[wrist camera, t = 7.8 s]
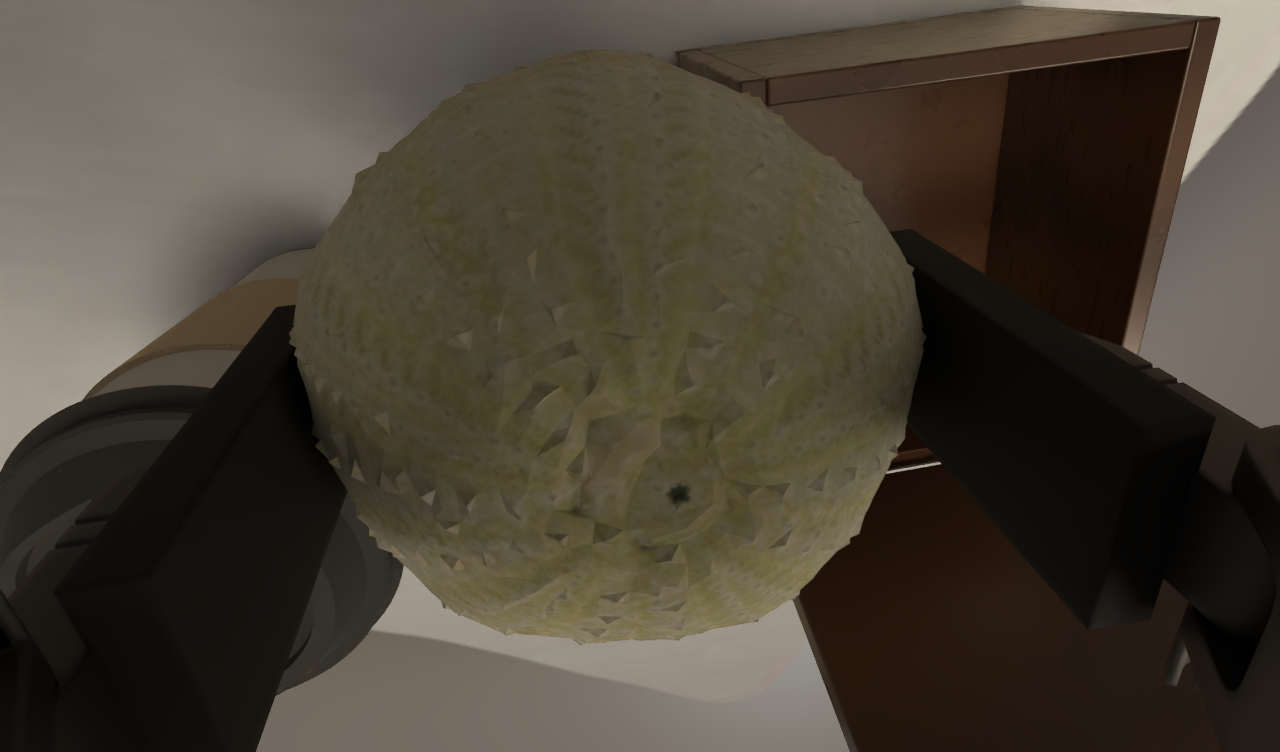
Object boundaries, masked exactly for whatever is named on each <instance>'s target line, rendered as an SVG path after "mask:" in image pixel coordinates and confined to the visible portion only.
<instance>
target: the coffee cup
mask: <svg viewBox="0 0 1280 752" xmlns="http://www.w3.org/2000/svg"><path fill="white" fill-rule="evenodd" d="M313 250H314V249H303V250H296V251H291V252H287V253H284V254H281V255H278V256H276V257H274V258H271V259H269V260H268V261H266V262H264V263H263V264H261V265H260V266H258V267H257V268H256V269H255V270H253V271H252V272H251V273H249V274H248V275H247V276H246V277H244V278H243V279H242V280H241V281H239V282H238V283H237V284H235V285H234V286H233V287H232V288H230V289H228V290H226V291H224V292H222V293H220V294H218V295H217V296H215V297H213V298H212V299H211V300H209V301H208V302H206V303H205V304H204V305H202V306H201V307H200V308H198V309H197V310H196V311H194V312H193V313H191V314H190V315H189V316H187V317H186V318H185V319H183V320H182V321H181V322H179V323H178V324H176V325H175V326H174V327H172V328H171V329H170V330H168V331H167V332H166V333H164V334H163V335H161V336H160V337H159V338H157V339H156V340H155V341H153V342H152V343H151V344H149V345H148V346H146V347H145V348H144V349H142V350H141V351H140V352H138V353H137V354H136V355H134V356H133V357H131V358H130V359H129V360H127V361H126V362H125V363H123V364H122V365H121V366H119V367H118V368H116V369H115V370H114V371H112V372H111V373H110V374H108V375H107V376H106V377H104V378H103V379H102V380H101V381H100V382H98V383H97V384H96V385H95V386H94V387H93V388H92V389H91V390H90V391H89V393H88V394H87V395H86V396H85V397H84V399H83V400H82V401H81V402H78V403H76V404H74V405H71V406H69V407H67V408H65V409H63V410H61V411H59V412H57V413H56V414H54V415H52V416H51V417H49V418H48V419H46V420H45V421H43V422H42V423H41V424H39V425H38V426H37V427H35V428H34V429H33V430H32V431H31V432H30V433H29V434H27V435H26V436H25V437H24V439H23V440H22V441H21V442H20V443H19V444H18V445H17V446H16V448H15V449H14V450H13V451H12V453H11V454H10V456H9V457H8V459H7V461H6V462H5V464H4V466H3V468H2V470H1V472H0V589H1V590H2V592H3V593H4V595H5V596H6V598H7V599H8V598H9V597H10V596H11V595H12V594H13V592H14V591H15V590H16V589H17V588H18V587H19V585H20V584H21V583H22V582H23V581H24V579H25V578H26V577H27V576H28V575H29V574H30V572H31V571H32V570H33V569H34V568H35V566H36V565H37V564H38V563H39V562H40V561H41V559H42V558H43V557H44V556H45V555H46V554H47V552H48V551H49V550H54V549H55V543H56V542H57V541H58V539H59V538H60V537H61V536H62V535H63V534H64V532H65V531H66V530H67V529H68V528H69V526H75V519H76V518H77V517H78V516H79V515H80V513H81V512H82V511H83V510H84V509H85V508H86V506H87V505H88V504H89V503H90V502H91V501H92V499H93V498H94V497H95V496H96V495H97V493H98V492H100V491H101V490H103V489H104V488H105V487H107V486H108V485H110V484H111V483H113V482H114V481H115V480H117V479H118V478H120V477H121V476H122V475H124V474H125V473H127V472H128V471H130V470H131V469H132V468H134V467H136V466H143V465H151V464H153V463H154V462H155V461H156V459H157V458H158V457H159V456H160V454H161V453H162V452H163V451H164V449H165V448H166V447H167V445H168V444H169V443H170V442H171V440H172V439H173V438H174V436H175V435H176V434H177V433H178V431H179V430H180V429H181V428H182V426H183V425H184V424H185V422H186V421H187V420H188V419H189V417H190V416H191V415H192V414H193V412H194V411H195V410H196V408H197V407H198V406H199V405H200V403H201V402H202V401H203V400H204V398H205V397H206V396H207V394H208V393H209V392H210V391H211V389H212V388H213V387H214V386H215V384H216V383H217V382H218V380H219V379H220V378H221V377H222V375H223V374H224V373H225V371H226V370H227V369H228V368H229V366H230V365H231V364H232V363H233V361H234V360H235V359H236V357H237V356H238V355H239V354H240V352H241V351H242V350H243V349H244V347H245V346H246V345H247V343H248V342H249V341H250V340H251V338H252V337H253V336H254V335H255V333H256V332H257V331H258V329H259V328H260V327H261V326H262V324H263V323H264V322H265V321H266V319H267V318H268V317H269V315H270V314H271V313H272V312H273V310H274V309H275V308H276V307H280V306H288V305H296V300H297V293H298V287H299V281H300V275H301V272H302V268H303V266H304V264H305V263H306V261H307V260H308V258H309V257H310V255H311V254H312V252H313ZM403 566H404V565H403V564H402V563H401V562H400V561H399V560H398V559H397V558H395V557H393V554H392V553H391V552H389V551H386V550H383V549H380V548H378V546H377V542H376V538H375V537H372V536H370V535H369V527H368V526H367V525H366V524H365V523H363V522H362V521H361V520H360V519H359V518H357V507H356V505H355V503H354V502H353V500H352V499H351V497H350V495H349V493H348V491H347V494H346V497H345V500H344V503H343V506H342V508H341V511H340V514H339V517H338V520H337V523H336V525H335V528H334V531H333V534H332V537H331V540H330V542H329V545H328V548H327V551H326V554H325V557H324V559H323V562H322V565H321V568H320V571H319V574H318V576H317V579H316V582H315V585H314V588H313V591H312V593H311V596H310V599H309V602H308V605H307V608H306V610H305V613H304V616H303V619H302V622H301V625H300V627H299V630H298V633H297V636H296V639H295V642H294V644H293V647H292V650H291V653H290V656H289V659H288V661H287V664H286V667H285V670H284V673H283V676H282V678H281V681H280V684H279V687H278V690H277V693H276V695H278V694H280V693H282V692H284V691H285V690H287V689H290V688H292V687H295V686H297V685H299V684H302V683H304V682H306V681H308V680H310V679H312V678H314V677H316V676H318V675H320V674H321V673H323V672H325V671H326V670H328V669H330V668H331V667H332V666H334V665H335V664H337V663H338V662H340V661H341V660H342V659H343V658H345V657H346V656H347V655H348V654H349V653H350V652H351V651H353V650H354V649H355V648H356V646H357V645H358V644H359V643H360V642H361V641H362V640H363V639H364V638H365V636H366V635H367V634H368V632H369V631H370V629H371V628H372V626H373V625H374V624H375V623H376V622H377V621H378V620H379V618H380V617H381V616H382V615H383V613H384V612H385V611H386V609H387V608H388V606H389V605H390V603H391V601H392V599H393V597H394V595H395V593H396V591H397V588H398V586H399V583H400V579H401V576H402V571H403ZM276 695H275V696H276Z"/></svg>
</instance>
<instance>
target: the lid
mask: <svg viewBox="0 0 1280 752" xmlns="http://www.w3.org/2000/svg"><path fill="white" fill-rule="evenodd" d="M793 602H794V604H795V607H796V610H797V612H798V615H799V617H800V620H801V623H802V625H803V628H804V631H805V633H806V636H807V639H808V641H809V644H810V647H811V649H812V652H813V655H814V657H815V660H816V663H817V665H818V668H819V670H820V673H821V676H822V679H823V681H824V684H825V686H826V689H827V691H828V694H829V697H830V700H831V702H832V705H833V708H834V710H835V713H836V715H837V718H838V721H839V723H840V726H841V729H842V732H843V734H844V737H845V739H846V742H847V745H848V747H849V750H850V752H1221V749H1220V747H1219V744H1218V741H1217V738H1216V735H1215V732H1214V729H1213V726H1212V723H1211V720H1210V717H1209V714H1208V711H1207V708H1206V705H1205V703H1204V700H1203V697H1202V694H1201V691H1198V690H1193V684H1194V681H1195V679H1196V676H1195V673H1194V670H1193V667H1192V664H1191V662H1190V663H1187V664H1186V665H1185V666H1183V669H1182V672H1181V675H1180V677H1179V680H1178V683H1177V685H1176V686H1173V685H1168V684H1165V666H1166V664H1167V661H1168V658H1169V655H1170V652H1171V650H1172V647H1173V644H1174V641H1175V638H1176V635H1177V633H1178V630H1179V627H1180V624H1181V621H1182V619H1183V616H1184V613H1185V610H1186V607H1187V604H1188V602H1189V601H1188V600H1186V599H1185V598H1184V597H1183V596H1182V595H1181V594H1180V593H1179V592H1178V591H1177V590H1176V589H1174V588H1173V587H1172V586H1171V585H1170V584H1169V583H1168V582H1167V581H1166V580H1165V579H1163V582H1162V585H1161V588H1160V591H1159V594H1158V597H1157V600H1156V603H1155V606H1154V609H1153V612H1152V615H1151V618H1150V620H1146V621H1141V622H1135V623H1129V624H1123V625H1117V626H1112V627H1106V628H1100V629H1094V630H1087V629H1086V627H1085V626H1084V625H1083V624H1082V623H1081V622H1080V621H1079V619H1078V618H1077V617H1076V616H1075V615H1074V614H1073V613H1072V612H1071V610H1070V609H1069V608H1068V607H1067V606H1066V605H1065V604H1064V602H1063V601H1062V600H1061V599H1060V598H1059V597H1058V596H1057V594H1056V593H1055V592H1054V591H1053V590H1052V589H1051V588H1050V587H1049V585H1048V584H1047V583H1046V582H1045V581H1044V580H1043V579H1042V577H1041V576H1040V575H1039V574H1038V573H1037V572H1036V571H1035V569H1034V568H1033V567H1032V566H1031V565H1030V564H1029V563H1028V562H1027V560H1026V559H1025V558H1024V557H1023V556H1022V555H1021V554H1020V552H1019V551H1018V550H1017V549H1016V548H1015V547H1014V546H1013V544H1012V543H1011V542H1010V541H1009V540H1008V539H1007V538H1006V537H1005V535H1004V534H1003V533H1002V532H1001V531H1000V530H999V529H998V527H997V526H996V525H995V524H994V523H993V522H992V521H991V519H990V518H989V517H988V516H987V515H986V514H985V513H984V511H983V510H982V509H981V508H980V507H979V506H978V505H977V504H976V502H975V501H974V500H973V499H972V498H971V497H970V496H969V494H968V493H967V492H966V491H965V490H964V489H963V488H962V486H961V485H960V484H959V483H958V482H957V481H956V480H955V479H954V477H953V476H952V475H951V474H950V473H949V472H948V471H947V469H946V468H945V467H944V466H943V465H942V464H940V465H935V466H929V467H923V468H918V469H912V470H906V471H901V472H895V473H889V474H885V476H884V478H883V480H882V482H881V484H880V486H879V488H878V489H877V491H876V493H875V495H874V497H873V499H872V502H871V504H870V506H869V508H868V510H867V512H866V514H865V516H864V519H863V522H862V526H861V529H860V533H859V534H858V535H855V536H853V537H851V538H850V544H848V545H846V546H845V547H843V548H841V549H840V550H838V551H837V552H836V553H835V554H834V555H833V556H832V557H831V558H830V559H829V560H828V561H827V562H826V563H825V564H824V565H823V566H822V567H821V568H820V570H819V571H818V572H817V574H816V575H815V577H814V578H813V579H812V580H811V581H810V582H808V583H807V584H806V585H805V586H804V587H803V588H802V589H801V590H800V594H799V595H798V596H796V598H795V599H794V600H793Z"/></svg>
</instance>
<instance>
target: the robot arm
mask: <svg viewBox="0 0 1280 752" xmlns="http://www.w3.org/2000/svg"><path fill="white" fill-rule="evenodd" d="M889 233H890V234H891V236H892V237H893V239H894V240H895V242H896V243H897V245H898V246H899V247H900V250H901V252H902V254H903V256H904V257H905V258H906V262H907V264H909V265H910V266H912V267H913V268H914V270H913V272H912V275H913V278H914V280H915V290H916V296H917V300H918V305H919V309H920V314H921V319H922V324H923V325H924V326H923V328H922V331H923V333H924V334H925V335H926V337H927V338H926V340H925V341H924V343H923V348H924V351H923V355H922V359H921V363H920V367H919V371H918V375H917V379H916V382H915V386H914V389H913V395H912V400H911V405H910V409H909V412H908V416H907V425H908V426H909V427H910V428H911V430H912V431H913V432H914V433H915V434H916V435H917V436H918V438H919V439H920V440H921V441H922V442H923V443H924V444H925V446H926V447H927V448H928V449H929V450H930V451H931V452H932V454H933V455H934V456H935V457H936V458H937V459H938V460H939V461H940V463H941V464H942V465H943V466H944V467H945V468H946V469H947V471H948V472H949V473H950V474H951V475H952V476H953V477H954V479H955V480H956V481H957V482H958V483H959V484H960V485H961V486H962V488H963V489H964V490H965V491H966V492H967V493H968V494H969V496H970V497H971V498H972V499H973V500H974V501H975V502H976V504H977V505H978V506H979V507H980V508H981V509H982V510H983V511H984V513H985V514H986V515H987V516H988V517H989V518H990V519H991V521H992V522H993V523H994V524H995V525H996V526H997V527H998V529H999V530H1000V531H1001V532H1002V533H1003V534H1004V535H1005V537H1006V538H1007V539H1008V540H1009V541H1010V542H1011V543H1012V544H1013V546H1014V547H1015V548H1016V549H1017V550H1018V551H1019V552H1020V554H1021V555H1022V556H1023V557H1024V558H1025V559H1026V560H1027V562H1028V563H1029V564H1030V565H1031V566H1032V567H1033V568H1034V569H1035V571H1036V572H1037V573H1038V574H1039V575H1040V576H1041V577H1042V579H1043V580H1044V581H1045V582H1046V583H1047V584H1048V585H1049V587H1050V588H1051V589H1052V590H1053V591H1054V592H1055V593H1056V594H1057V596H1058V597H1059V598H1060V599H1061V600H1062V601H1063V602H1064V604H1065V605H1066V606H1067V607H1068V608H1069V609H1070V610H1071V612H1072V613H1073V614H1074V615H1075V616H1076V617H1077V618H1078V619H1079V621H1080V622H1081V623H1082V624H1083V625H1084V626H1085V627H1086V629H1087V630H1094V629H1100V628H1106V627H1112V626H1117V625H1123V624H1129V623H1135V622H1141V621H1146V620H1150V618H1151V615H1152V612H1153V609H1154V606H1155V603H1156V600H1157V597H1158V594H1159V591H1160V588H1161V585H1162V582H1163V579H1165V580H1166V581H1167V582H1168V583H1169V584H1170V585H1171V586H1172V587H1173V588H1174V589H1176V590H1177V591H1178V592H1179V593H1180V594H1181V595H1182V596H1183V597H1184V598H1185V599H1186V600H1188V601H1189V602H1188V604H1187V607H1186V610H1185V613H1184V616H1183V619H1182V621H1181V624H1180V627H1179V630H1178V633H1177V635H1176V638H1175V641H1174V644H1173V647H1172V650H1171V652H1170V655H1169V658H1168V661H1167V664H1166V666H1165V684H1168V685H1173V686H1176V685H1177V683H1178V680H1179V677H1180V675H1181V672H1182V669H1183V666H1185V665H1186V664H1187V663H1190V662H1191V664H1192V667H1193V670H1194V673H1195V676H1196V679H1195V681H1194V684H1193V690H1198V691H1201V694H1202V697H1203V700H1204V703H1205V705H1206V708H1207V711H1208V714H1209V717H1210V720H1211V723H1212V726H1213V729H1214V732H1215V735H1216V738H1217V741H1218V744H1219V747H1220V749H1221V752H1280V425H1274V426H1270V427H1265V428H1261V429H1260V428H1259V427H1257V426H1255V425H1254V424H1252V423H1250V422H1249V421H1247V420H1245V419H1244V418H1242V417H1240V416H1239V415H1237V414H1235V413H1233V412H1232V411H1230V410H1229V409H1227V408H1225V407H1224V406H1221V405H1220V404H1219V403H1217V402H1215V401H1213V400H1212V399H1210V398H1208V397H1207V396H1205V395H1203V394H1202V393H1200V392H1198V391H1197V390H1195V389H1193V388H1192V387H1190V386H1188V385H1187V384H1185V383H1177V379H1176V378H1175V377H1173V376H1172V375H1170V374H1168V373H1166V372H1165V371H1163V370H1161V369H1160V368H1153V367H1152V364H1151V363H1150V362H1148V361H1146V360H1145V359H1143V358H1141V357H1139V356H1138V355H1136V354H1135V353H1133V352H1131V351H1130V350H1128V349H1126V348H1124V347H1123V346H1120V345H1117V344H1114V343H1111V342H1108V341H1105V340H1102V339H1099V338H1096V337H1093V336H1091V335H1088V334H1085V333H1082V334H1081V333H1079V332H1078V331H1076V330H1074V329H1073V328H1071V327H1070V326H1068V325H1066V324H1065V323H1063V322H1061V321H1060V320H1058V319H1057V318H1055V317H1053V316H1052V315H1050V314H1048V313H1047V312H1045V311H1044V310H1042V309H1040V308H1039V307H1037V306H1035V305H1034V304H1032V303H1031V302H1029V301H1027V300H1026V299H1024V298H1023V297H1021V296H1019V295H1018V294H1016V293H1014V292H1013V291H1011V290H1010V289H1008V288H1006V287H1005V286H1003V285H1001V284H1000V283H998V282H997V281H995V280H993V279H992V278H990V277H989V276H987V275H985V274H984V273H982V272H980V271H979V270H977V269H976V268H974V267H972V266H971V265H969V264H967V263H966V262H964V261H963V260H961V259H959V258H958V257H956V256H954V255H953V254H951V253H950V252H948V251H946V250H945V249H943V248H942V247H940V246H938V245H937V244H935V243H933V242H932V241H930V240H929V239H927V238H925V237H924V236H922V235H920V234H919V233H917V232H916V231H914V230H912V229H907V230H899V231H891V232H889ZM295 308H296V305H288V306H280V307H276V308H275V309H274V310H273V312H272V313H271V314H270V315H269V317H268V318H267V319H266V321H265V322H264V323H263V324H262V326H261V327H260V328H259V329H258V331H257V332H256V333H255V335H254V336H253V337H252V338H251V340H250V341H249V342H248V343H247V345H246V346H245V347H244V349H243V350H242V351H241V352H240V354H239V355H238V356H237V357H236V359H235V360H234V361H233V363H232V364H231V365H230V366H229V368H228V369H227V370H226V371H225V373H224V374H223V375H222V377H221V378H220V379H219V380H218V382H217V383H216V384H215V386H214V387H213V388H212V389H211V391H210V392H209V393H208V394H207V396H206V397H205V398H204V400H203V401H202V402H201V403H200V405H199V406H198V407H197V408H196V410H195V411H194V412H193V414H192V415H191V416H190V417H189V419H188V420H187V421H186V422H185V424H184V425H183V426H182V428H181V429H180V430H179V431H178V433H177V434H176V435H175V436H174V438H173V439H172V440H171V442H170V443H169V444H168V445H167V447H166V448H165V449H164V451H163V452H162V453H161V454H160V456H159V457H158V458H157V459H156V461H155V462H154V463H153V464H151V465H143V466H136V467H134V468H132V469H131V470H130V471H128V472H127V473H125V474H124V475H122V476H121V477H120V478H118V479H117V480H115V481H114V482H113V483H111V484H110V485H108V486H107V487H105V488H104V489H103V490H101V491H100V492H98V493H97V495H96V496H95V497H94V498H93V499H92V501H91V502H90V503H89V504H88V505H87V506H86V508H85V509H84V510H83V511H82V512H81V513H80V515H79V516H78V517H77V518H76V519H75V526H69V528H68V529H67V530H66V531H65V532H64V534H63V535H62V536H61V537H60V538H59V539H58V541H57V542H56V543H55V549H54V550H49V551H48V552H47V554H46V555H45V556H44V557H43V558H42V559H41V561H40V562H39V563H38V564H37V565H36V566H35V568H34V569H33V570H32V571H31V572H30V574H29V575H28V576H27V577H26V578H25V579H24V581H23V582H22V583H21V584H20V585H19V587H18V588H17V589H16V590H15V591H14V592H13V594H12V595H11V596H10V597H9V598H8V599H7V598H6V596H5V595H4V593H3V592H2V590H1V589H0V752H256V749H257V746H258V744H259V741H260V738H261V735H262V732H263V729H264V727H265V724H266V721H267V718H268V715H269V712H270V709H271V707H272V704H273V701H274V698H275V695H276V693H277V690H278V687H279V684H280V681H281V678H282V676H283V673H284V670H285V667H286V664H287V661H288V659H289V656H290V653H291V650H292V647H293V644H294V642H295V639H296V636H297V633H298V630H299V627H300V625H301V622H302V619H303V616H304V613H305V610H306V608H307V605H308V602H309V599H310V596H311V593H312V591H313V588H314V585H315V582H316V579H317V576H318V574H319V571H320V568H321V565H322V562H323V559H324V557H325V554H326V551H327V548H328V545H329V542H330V540H331V537H332V534H333V531H334V528H335V525H336V523H337V520H338V517H339V514H340V511H341V508H342V506H343V503H344V500H345V497H346V494H347V489H346V487H345V486H344V484H343V483H342V481H341V480H340V478H339V477H338V475H337V473H336V471H335V469H334V467H333V466H332V464H330V463H329V462H328V458H327V457H326V456H325V455H324V454H323V453H321V452H320V451H319V450H318V449H317V448H316V447H315V446H316V444H317V443H318V442H319V441H320V439H318V438H317V437H315V436H314V435H313V434H311V433H312V429H313V424H314V423H313V419H312V414H311V408H310V404H309V400H308V396H307V392H306V388H305V385H304V382H303V380H302V377H301V374H300V371H299V369H298V366H297V357H296V356H294V353H295V350H296V347H294V346H293V345H291V344H289V342H290V340H291V337H290V335H289V333H290V331H291V330H292V328H293V327H294V325H293V323H294V316H295Z"/></svg>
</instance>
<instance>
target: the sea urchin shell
mask: <svg viewBox="0 0 1280 752" xmlns="http://www.w3.org/2000/svg"><path fill="white" fill-rule="evenodd" d="M913 270H914V268H913V267H912V266H910V265H909V264H907V262H906V258H905V257H904V256H903V254H902V252H901V250H900V247H899V246H898V245H897V243H896V242H895V240H894V239H893V237H892V236H891V234H890V233H889V231H888V229H887V227H886V226H885V224H884V223H883V221H882V220H881V218H880V217H879V215H878V214H877V212H876V211H875V209H874V208H873V207H872V205H871V204H870V202H869V201H868V199H867V198H866V197H865V196H864V194H863V182H862V181H860V180H858V179H856V178H854V177H853V175H852V173H851V171H848V170H846V169H844V168H842V167H841V165H840V164H839V162H838V161H837V160H836V158H835V157H832V156H826V155H825V154H822V153H821V152H820V151H818V150H817V149H816V148H815V147H814V146H812V145H811V144H810V143H808V142H807V141H805V140H804V139H803V138H801V137H800V136H799V135H798V134H797V133H796V132H794V131H793V130H792V129H791V128H790V127H789V126H788V125H786V124H785V121H784V119H783V116H781V115H778V114H775V113H773V109H769V108H766V107H765V105H764V103H763V101H762V99H761V97H751V96H750V93H749V92H746V93H738V92H736V91H734V90H733V89H731V88H729V87H727V86H724V85H722V84H719V83H717V82H715V81H712V80H710V79H707V78H704V77H701V76H698V75H695V74H692V73H690V72H688V71H686V70H683V69H681V68H679V67H677V66H674V65H672V64H670V63H668V62H665V61H663V60H661V59H658V58H655V57H654V56H652V55H651V54H642V53H634V52H626V51H611V50H583V51H577V52H573V53H569V54H564V55H555V56H552V57H550V58H548V59H546V60H543V61H541V62H539V63H537V64H535V65H532V66H517V68H516V71H515V72H513V73H510V74H507V75H504V76H501V77H498V78H495V79H491V80H488V81H483V82H478V83H472V84H467V85H465V86H464V88H463V89H462V90H461V92H459V93H457V94H456V95H454V96H452V97H450V98H448V99H446V100H444V101H442V102H441V103H440V104H439V106H438V107H437V108H436V109H435V110H433V111H432V112H431V114H430V115H429V116H428V117H427V118H426V119H425V120H423V121H422V122H421V123H420V124H419V125H418V126H417V127H416V128H415V129H414V130H413V131H412V132H411V133H410V134H408V135H407V136H406V137H404V138H403V139H402V140H400V141H399V142H398V143H397V144H396V145H395V146H394V147H393V148H392V149H391V150H390V151H388V152H381V153H379V155H378V158H377V161H376V164H375V165H373V166H371V167H369V168H367V169H364V170H362V171H360V172H358V173H356V176H355V183H354V186H353V190H352V194H351V195H350V197H349V198H348V200H347V201H346V203H345V204H344V206H343V207H342V209H341V211H340V212H339V214H338V215H337V216H336V217H335V219H334V221H333V223H332V224H331V226H330V228H329V229H328V231H327V232H326V234H325V235H324V236H323V238H322V239H321V240H320V241H319V243H318V244H317V246H316V247H315V249H314V250H313V252H312V254H311V255H310V257H309V258H308V260H307V261H306V263H305V264H304V266H303V268H302V272H301V275H300V281H299V287H298V293H297V300H296V308H295V316H294V323H293V325H294V327H293V328H292V330H291V331H290V333H289V335H290V337H291V340H290V342H289V344H291V345H293V346H294V347H296V350H295V353H294V356H296V357H297V366H298V369H299V371H300V374H301V377H302V380H303V382H304V385H305V388H306V392H307V396H308V400H309V404H310V408H311V414H312V419H313V423H314V424H313V429H312V433H311V434H313V435H314V436H315V437H317V438H318V439H320V441H319V442H318V443H317V444H316V446H315V447H316V448H317V449H318V450H319V451H320V452H321V453H323V454H324V455H325V456H326V457H327V458H328V462H329V463H330V464H332V466H333V467H334V469H335V471H336V473H337V475H338V477H339V478H340V480H341V481H342V483H343V484H344V486H345V487H346V489H347V491H348V493H349V495H350V497H351V499H352V500H353V502H354V503H355V505H356V507H357V518H359V519H360V520H361V521H362V522H363V523H365V524H366V525H367V526H368V527H369V535H370V536H372V537H375V538H376V542H377V546H378V548H380V549H383V550H386V551H389V552H391V553H392V554H393V557H395V558H397V559H398V560H399V561H400V562H401V563H402V564H403V565H404V566H406V567H407V568H408V569H409V570H410V571H411V572H412V573H413V574H414V575H415V576H416V577H417V578H418V579H419V580H420V581H421V582H422V583H423V584H424V585H425V586H426V587H427V588H428V589H429V591H431V592H432V593H433V594H434V595H435V596H436V597H438V598H439V599H440V600H441V602H442V605H443V608H445V609H450V610H453V611H454V612H455V613H457V614H458V615H459V616H460V615H462V616H464V617H467V618H469V619H472V620H474V621H476V622H479V623H481V624H483V625H486V626H488V627H490V628H493V629H495V630H497V631H499V632H502V633H504V634H505V635H513V634H526V635H541V636H550V637H560V638H569V639H573V640H574V641H576V642H577V643H579V644H580V645H582V644H584V643H588V644H589V643H606V642H609V641H619V640H628V639H633V640H656V639H665V640H677V641H678V640H680V639H681V638H683V637H684V636H686V635H694V634H702V633H704V632H706V631H708V630H711V629H715V628H721V627H727V626H732V625H738V624H744V623H749V622H758V619H759V618H760V617H762V616H764V615H765V614H767V613H768V612H770V611H772V610H774V609H775V608H777V607H778V606H780V605H781V604H783V603H785V602H786V601H788V600H794V599H795V598H796V596H798V595H799V594H800V590H801V589H802V588H803V587H804V586H805V585H806V584H807V583H808V582H810V581H811V580H812V579H813V578H814V577H815V575H816V574H817V572H818V571H819V570H820V568H821V567H822V566H823V565H824V564H825V563H826V562H827V561H828V560H829V559H830V558H831V557H832V556H833V555H834V554H835V553H836V552H837V551H838V550H840V549H841V548H843V547H845V546H846V545H848V544H850V538H851V537H853V536H855V535H858V534H859V533H860V529H861V526H862V522H863V519H864V516H865V514H866V512H867V510H868V508H869V506H870V504H871V502H872V499H873V497H874V495H875V493H876V491H877V489H878V488H879V486H880V484H881V482H882V480H883V478H884V476H885V474H886V472H887V470H888V468H889V466H890V463H891V460H892V459H894V458H895V457H896V456H898V451H897V448H898V447H899V446H900V444H901V443H902V442H903V441H904V439H905V429H906V424H907V416H908V412H909V409H910V405H911V400H912V395H913V389H914V386H915V382H916V379H917V375H918V371H919V367H920V363H921V359H922V355H923V351H924V348H923V343H924V341H925V340H926V338H927V337H926V335H925V334H924V333H923V331H922V328H923V326H924V325H923V324H922V319H921V314H920V309H919V305H918V300H917V296H916V290H915V280H914V278H913V275H912V272H913Z"/></svg>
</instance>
